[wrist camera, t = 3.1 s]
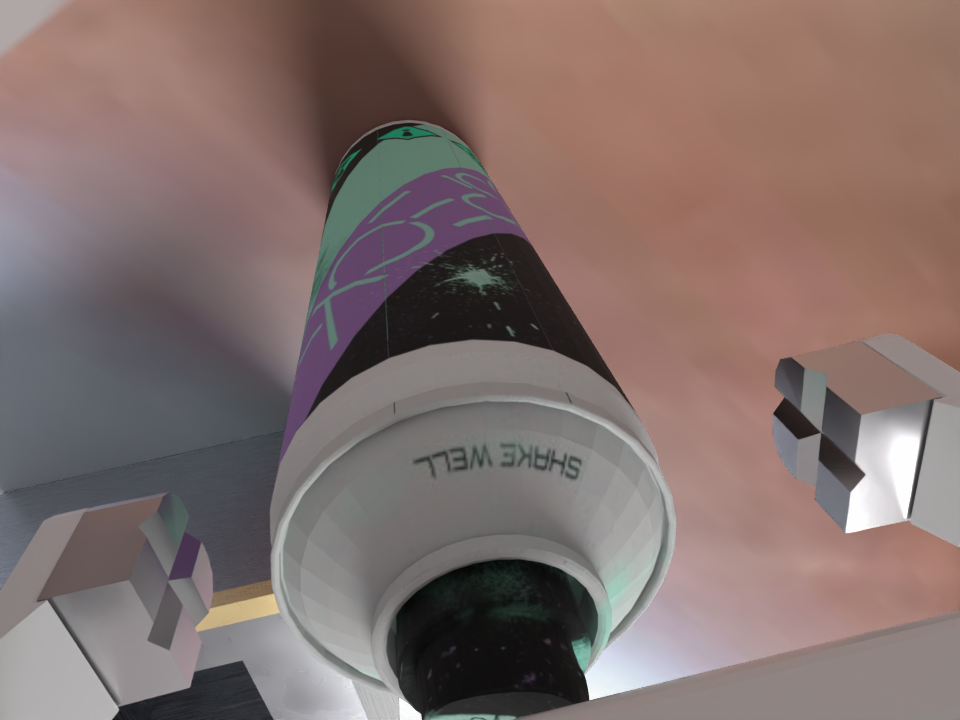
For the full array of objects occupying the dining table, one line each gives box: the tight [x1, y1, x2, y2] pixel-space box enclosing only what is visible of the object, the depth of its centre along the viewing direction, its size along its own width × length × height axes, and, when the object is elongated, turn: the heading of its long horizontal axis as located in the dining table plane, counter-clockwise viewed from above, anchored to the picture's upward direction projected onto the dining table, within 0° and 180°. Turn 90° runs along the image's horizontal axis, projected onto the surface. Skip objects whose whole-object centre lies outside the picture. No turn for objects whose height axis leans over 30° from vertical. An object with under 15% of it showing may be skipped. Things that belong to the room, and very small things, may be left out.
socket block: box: [0, 431, 400, 720], centre depth 27 cm, size 13×13×9 cm
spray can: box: [270, 120, 677, 720], centre depth 15 cm, size 6×6×20 cm
